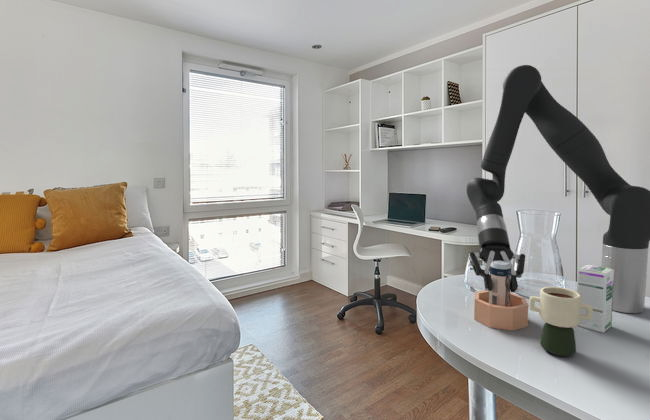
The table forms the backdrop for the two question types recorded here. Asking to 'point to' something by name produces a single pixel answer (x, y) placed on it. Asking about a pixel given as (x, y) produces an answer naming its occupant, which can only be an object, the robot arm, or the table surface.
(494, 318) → the terracotta bowl
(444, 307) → the table surface
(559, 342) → the character mug
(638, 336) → the table surface
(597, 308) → the syrup box
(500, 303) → the beer can
